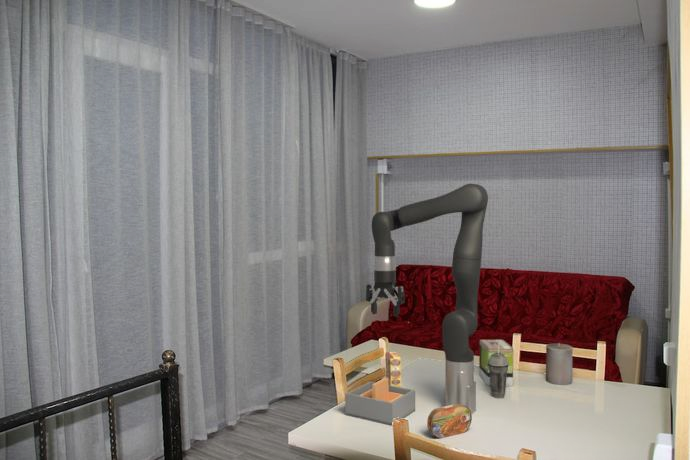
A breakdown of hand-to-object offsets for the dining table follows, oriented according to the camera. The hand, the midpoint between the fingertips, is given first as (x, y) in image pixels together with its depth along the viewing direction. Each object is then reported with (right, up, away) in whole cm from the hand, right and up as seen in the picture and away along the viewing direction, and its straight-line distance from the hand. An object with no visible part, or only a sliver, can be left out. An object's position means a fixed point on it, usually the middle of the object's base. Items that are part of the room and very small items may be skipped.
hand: (385, 314), depth 199 cm
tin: (+17, -31, -29) cm, 46 cm away
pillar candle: (+69, -29, +21) cm, 78 cm away
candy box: (+3, -30, +4) cm, 31 cm away
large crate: (-2, -31, -12) cm, 33 cm away
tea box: (+45, -29, +23) cm, 58 cm away
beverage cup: (+41, -30, +4) cm, 51 cm away
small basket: (-2, -30, -12) cm, 32 cm away
